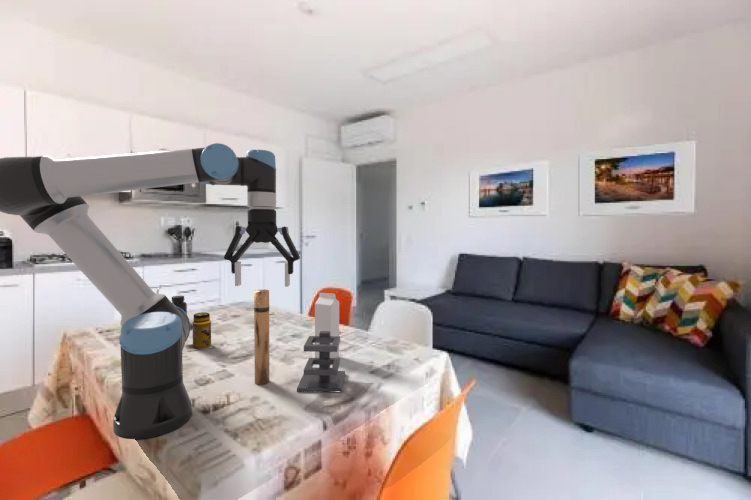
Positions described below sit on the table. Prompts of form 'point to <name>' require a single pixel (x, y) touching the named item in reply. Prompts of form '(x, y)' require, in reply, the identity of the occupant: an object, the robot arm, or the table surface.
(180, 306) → the supplement bottle
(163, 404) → the robot arm
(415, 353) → the table surface
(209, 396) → the table surface
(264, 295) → the brown wooden cylinder
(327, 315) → the milk
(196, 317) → the condiment
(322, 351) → the collar stand
